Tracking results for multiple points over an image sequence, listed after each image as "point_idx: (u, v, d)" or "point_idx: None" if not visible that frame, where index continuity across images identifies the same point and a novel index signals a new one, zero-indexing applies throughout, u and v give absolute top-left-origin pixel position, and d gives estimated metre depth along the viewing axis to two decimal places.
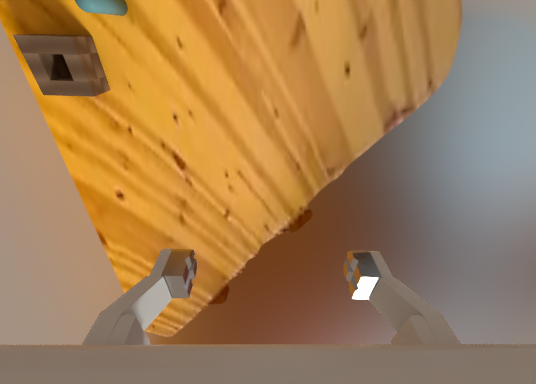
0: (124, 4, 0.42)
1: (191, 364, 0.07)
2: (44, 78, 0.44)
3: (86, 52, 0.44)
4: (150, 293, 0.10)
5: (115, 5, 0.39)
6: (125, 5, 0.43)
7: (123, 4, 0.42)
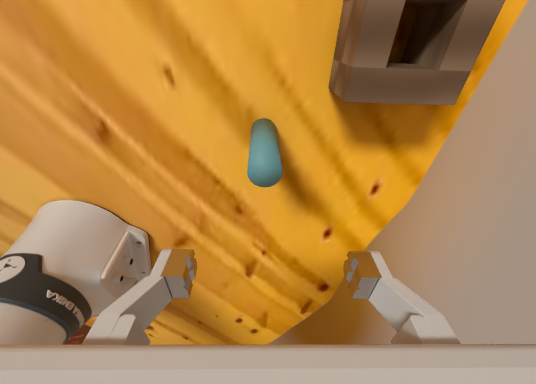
0: None
1: (190, 364, 0.07)
2: (478, 5, 0.16)
3: (342, 65, 0.21)
4: (150, 293, 0.10)
5: (250, 143, 0.24)
6: None
7: None
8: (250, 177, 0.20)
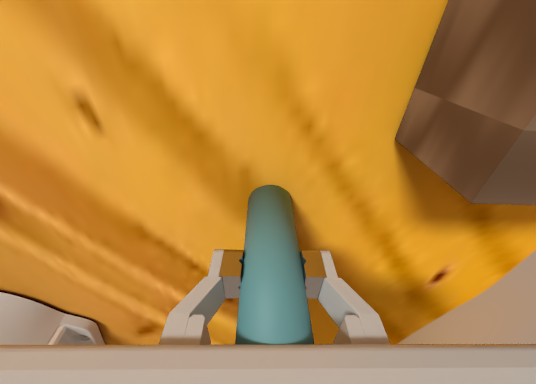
0: None
1: (191, 364, 0.07)
2: None
3: (458, 111, 0.09)
4: (211, 293, 0.10)
5: None
6: None
7: None
8: None
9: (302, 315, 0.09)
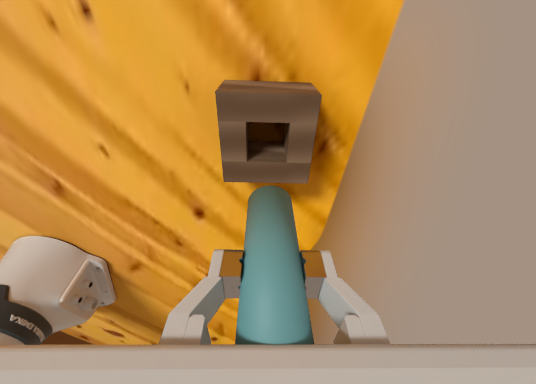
0: (247, 214, 0.15)
1: (191, 364, 0.07)
2: (298, 126, 0.23)
3: None
4: (211, 293, 0.10)
5: None
6: None
7: None
8: None
9: (302, 316, 0.09)
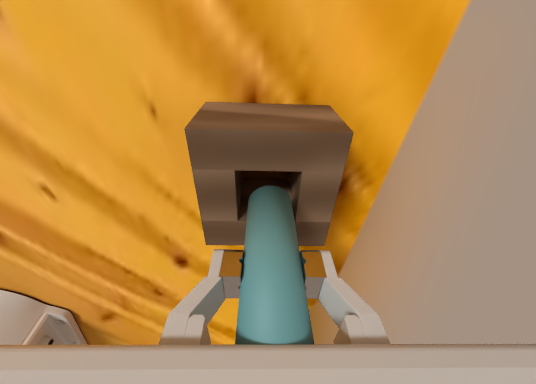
0: (247, 214, 0.15)
1: (190, 364, 0.07)
2: (315, 176, 0.15)
3: None
4: (211, 293, 0.10)
5: None
6: None
7: None
8: None
9: (302, 316, 0.09)
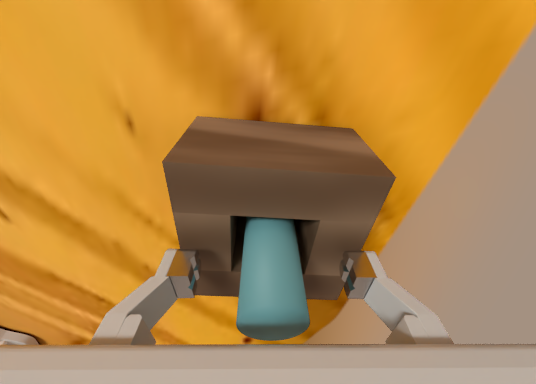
0: None
1: (190, 364, 0.07)
2: (337, 226, 0.12)
3: None
4: (156, 293, 0.10)
5: None
6: None
7: None
8: (242, 329, 0.10)
9: (295, 270, 0.10)
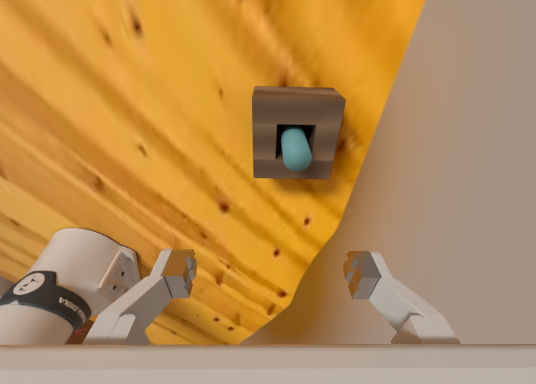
0: None
1: (190, 364, 0.07)
2: (324, 127, 0.26)
3: None
4: (150, 293, 0.10)
5: (281, 136, 0.28)
6: None
7: None
8: (285, 163, 0.24)
9: (305, 141, 0.25)
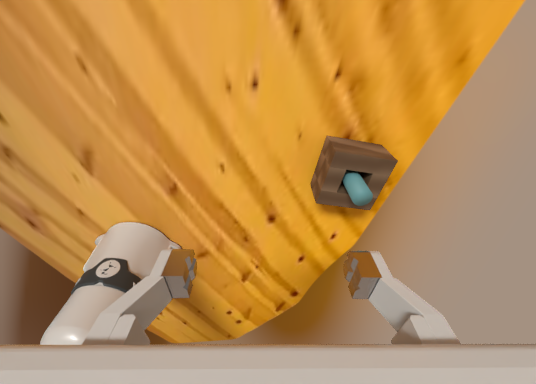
0: None
1: (190, 364, 0.07)
2: (377, 176, 0.37)
3: (317, 182, 0.40)
4: (150, 293, 0.10)
5: None
6: None
7: None
8: (353, 199, 0.34)
9: None
